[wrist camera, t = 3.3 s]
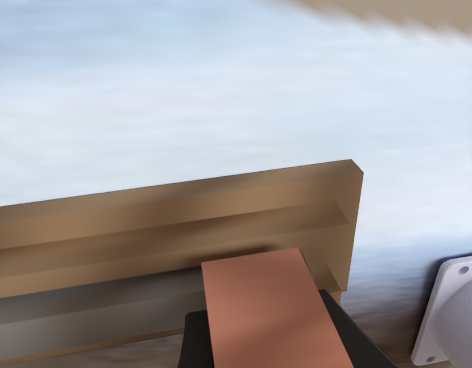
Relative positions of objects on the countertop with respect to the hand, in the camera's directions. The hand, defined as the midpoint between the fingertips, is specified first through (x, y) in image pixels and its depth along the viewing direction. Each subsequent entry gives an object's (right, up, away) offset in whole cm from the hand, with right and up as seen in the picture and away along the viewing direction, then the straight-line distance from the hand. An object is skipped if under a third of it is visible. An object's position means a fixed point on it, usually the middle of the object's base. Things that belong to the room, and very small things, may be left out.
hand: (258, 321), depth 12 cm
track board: (-3, +2, +3) cm, 5 cm away
